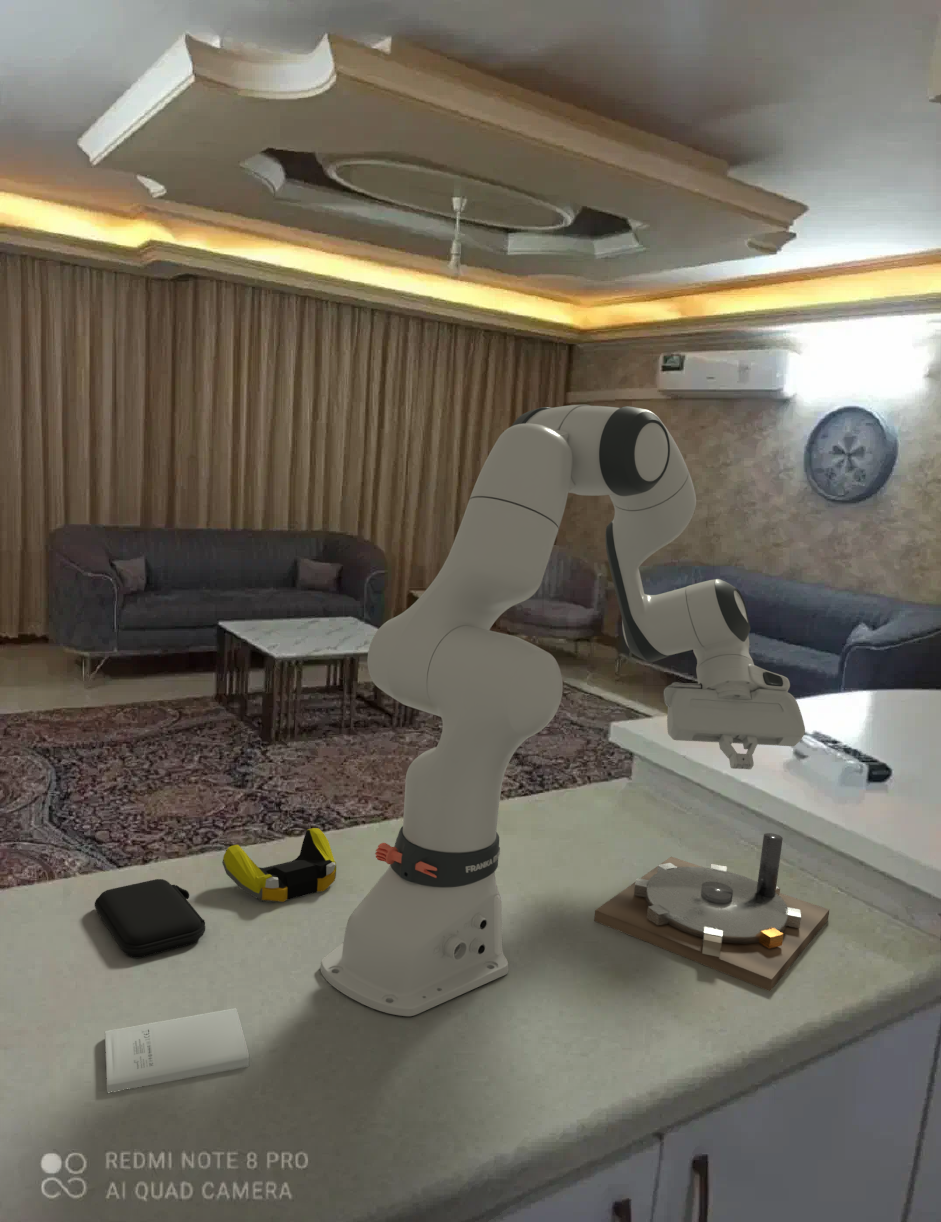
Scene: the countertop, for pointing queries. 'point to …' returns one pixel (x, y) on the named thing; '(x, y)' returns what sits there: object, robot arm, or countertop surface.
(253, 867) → the gaming controller
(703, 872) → the sprocket
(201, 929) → the carrying case or bag
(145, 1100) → the countertop surface
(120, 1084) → the external hard drive
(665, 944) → the sprocket base
